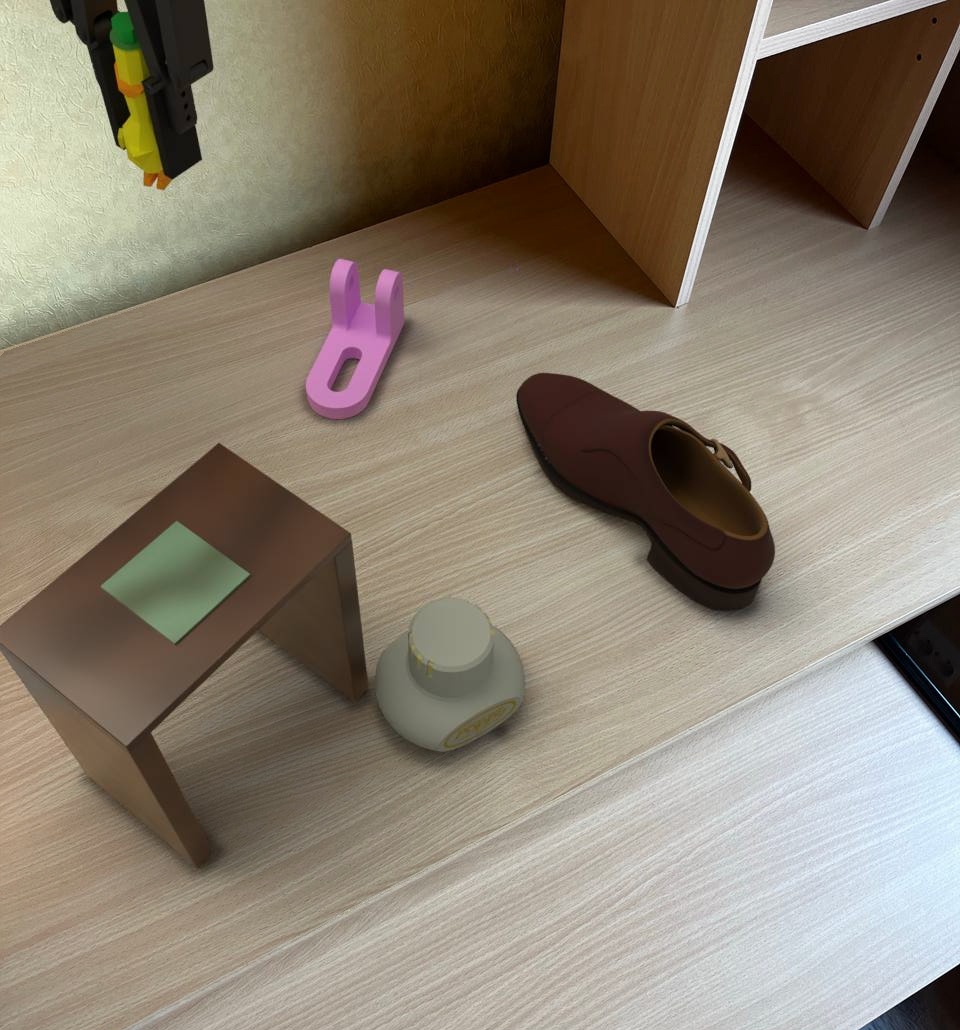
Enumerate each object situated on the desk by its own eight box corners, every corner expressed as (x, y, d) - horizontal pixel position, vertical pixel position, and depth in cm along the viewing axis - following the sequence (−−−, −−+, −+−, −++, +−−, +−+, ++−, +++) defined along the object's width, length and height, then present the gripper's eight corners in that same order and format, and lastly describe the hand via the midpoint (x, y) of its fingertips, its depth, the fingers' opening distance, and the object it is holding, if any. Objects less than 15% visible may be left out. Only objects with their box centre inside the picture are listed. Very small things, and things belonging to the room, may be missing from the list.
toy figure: (148, 136, 76) (118, -32, 65) (198, 148, 76) (177, -19, 65) (117, 205, 73) (81, 40, 62) (170, 216, 73) (143, 54, 62)
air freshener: (481, 626, 86) (486, 554, 77) (540, 707, 82) (552, 640, 74) (358, 691, 82) (350, 623, 74) (415, 778, 79) (413, 717, 70)
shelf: (87, 775, 78) (-13, 632, 61) (262, 609, 86) (218, 439, 68) (196, 868, 75) (125, 746, 58) (369, 688, 83) (351, 531, 65)
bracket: (347, 310, 102) (342, 249, 96) (404, 323, 102) (402, 263, 96) (298, 410, 96) (289, 352, 90) (358, 425, 95) (353, 368, 89)
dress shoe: (565, 376, 99) (580, 275, 89) (788, 584, 89) (833, 496, 79) (486, 422, 96) (491, 322, 86) (706, 643, 86) (742, 559, 76)
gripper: (240, -252, 51) (292, 179, 72) (0, -359, 56) (113, 74, 76) (120, -195, 48) (210, 239, 68) (-124, -314, 53) (28, 125, 73)
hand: (158, 151), depth 72 cm, fingers closed on toy figure, 4 cm apart
